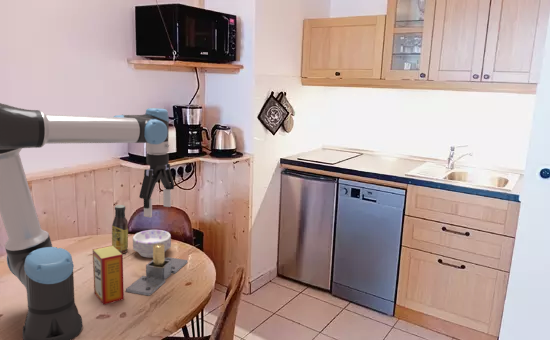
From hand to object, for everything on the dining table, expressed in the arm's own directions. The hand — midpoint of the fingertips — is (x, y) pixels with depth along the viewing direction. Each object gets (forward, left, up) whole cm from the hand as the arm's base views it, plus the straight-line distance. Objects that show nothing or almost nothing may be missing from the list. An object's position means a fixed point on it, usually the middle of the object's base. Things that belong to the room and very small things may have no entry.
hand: (158, 211), depth 157 cm
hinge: (0, 0, -25) cm, 25 cm away
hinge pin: (0, 0, -25) cm, 25 cm away
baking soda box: (-19, +8, -25) cm, 32 cm away
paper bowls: (+18, +13, -25) cm, 33 cm away
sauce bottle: (+15, +26, -25) cm, 39 cm away
